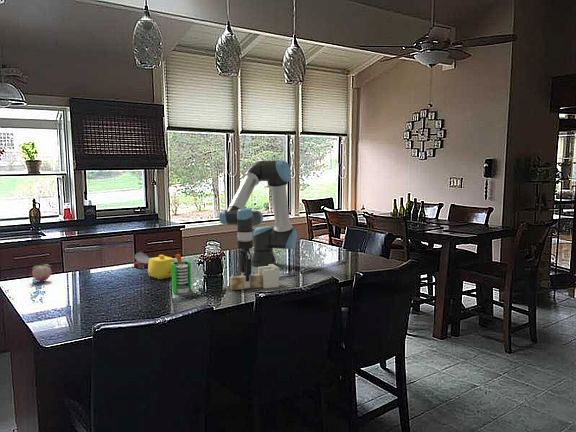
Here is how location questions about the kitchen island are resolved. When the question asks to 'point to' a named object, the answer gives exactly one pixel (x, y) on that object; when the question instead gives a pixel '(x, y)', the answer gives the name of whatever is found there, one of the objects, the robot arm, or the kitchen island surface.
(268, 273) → the white stepped block
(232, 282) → the rail
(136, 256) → the canned food
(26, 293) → the kitchen island surface
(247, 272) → the robot arm
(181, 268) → the green-shelled ribbed roller
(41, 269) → the decorative fruit
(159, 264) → the teapot
